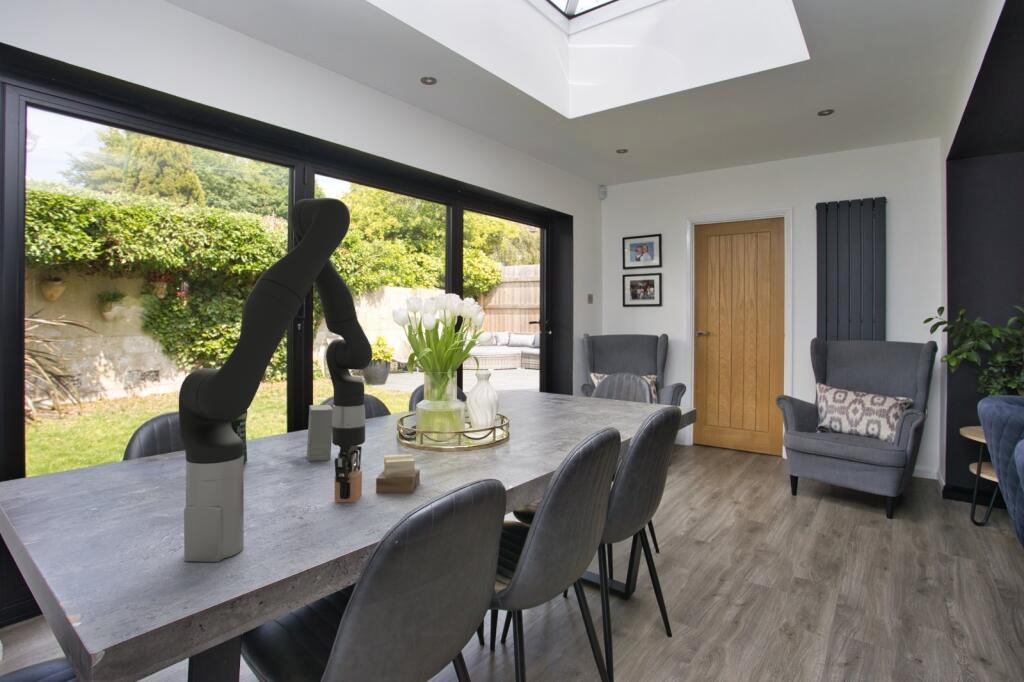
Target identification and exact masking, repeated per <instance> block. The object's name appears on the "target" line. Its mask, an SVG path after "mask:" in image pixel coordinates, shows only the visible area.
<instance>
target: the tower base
mask: <svg viewBox="0 0 1024 682" xmlns="http://www.w3.org/2000/svg"><path fill="white" fill-rule="evenodd" d="M420 470H421V469H416V468H415V474H414V477H399V478H386V477H385V472H384V470H383V471H382V472H381V473H380V474H379V475H378V476H377V477H376V478H375V494H405V495H407V494H409V495H411V494H414V492H415V491H416V489H417V488H418V486H419V485H420V476H421V474H420V472H421V471H420Z"/></svg>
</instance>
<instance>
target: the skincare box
mask: <svg viewBox="0 0 1024 682" xmlns="http://www.w3.org/2000/svg"><path fill="white" fill-rule="evenodd" d="M308 410H309V411H308V412H309V413H308V425H307V426H308V429H307V442H306V457H307V460H308V461H309V462H315V461H316V462H318V461H330V460H332V458H331V456H332V455H331V454H332V444H333V443H332V413H333V407H332V406H331V405H330V404H311V405H309V407H308Z"/></svg>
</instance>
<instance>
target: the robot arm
mask: <svg viewBox="0 0 1024 682" xmlns="http://www.w3.org/2000/svg"><path fill="white" fill-rule="evenodd" d="M290 211H291V212H290V224H291V227H292V232H293V233H294V236H295V239H296V241H297V245H296V246H294V248H293V249H291V250H290V251H289V252H288V253H286V254H285V255H284V256H282V257H281V258H279V259H278V260H277V261H276V262H274V263H273V264H271V265H270V267H268V268H267V269H266V270H265V271H263V273H262V274H261V275H260V277H259V278H258V279H257V280H256V283H255V284H254V286H253V287H252V289H251V291H249V293H248V294H247V295H248V296H247V297H246V299H245V301H244V304H243V305H242V306H243V307H242V311H241V322H240V332H239V333H240V335H239V337H238V340H237V342H236V344H235V346H234V348H233V350H232V351H231V353H230V354H229V356H228V358H226V361H225V362H224V363H223V364H222V366H221V367H220V368H210V367H207V368H206V367H205V368H198V369H195V370H193V371H192V372H191V373H189V374H188V375H187V376H186V377H185V378H184V380H183V381H182V384H181V385H180V390H179V394H178V419H179V434H180V436H179V437H180V441H181V445H182V447H183V449H184V452H185V507H184V509H183V533H184V534H183V540H184V541H183V543H184V544H183V546H184V547H183V548H184V549H183V550H184V551H183V552H184V553H183V555H184V557H183V561H184V562H207V563H208V562H212V563H215V562H217V563H218V562H221V561H222V560H224V559H227V558H229V557H232V556H235V555H237V554H238V553H240V552H242V551H243V549H244V545H245V542H244V541H245V539H244V538H245V537H244V536H245V535H244V533H245V531H244V530H245V528H244V527H245V525H244V524H245V523H244V522H245V521H244V520H245V518H244V517H245V516H244V515H245V513H244V511H245V510H244V509H245V508H244V507H245V505H244V504H245V502H244V500H245V499H244V494H245V492H244V491H245V490H244V486H245V485H244V484H245V481H244V480H245V479H244V475H245V474H244V473H245V469H244V468H245V466H244V465H245V464H244V445H243V441H242V439H241V438H240V437H239V436H237V434H236V433H235V432H234V431H233V429H232V427H231V424H230V421H234V420H236V419H238V418H239V417H241V416H242V415H243V414H244V413H245V412H246V411H247V412H248V409H249V408H250V406H251V405H252V403H253V401H254V399H255V397H256V394H257V392H258V389H259V387H260V385H261V383H262V380H263V377H264V376H265V374H266V371H267V368H268V366H269V365H270V362H271V359H272V358H273V356H274V354H275V353H276V351H277V349H278V347H279V345H280V344H281V341H282V339H283V338H284V336H285V334H286V332H287V331H288V329H289V327H290V325H291V324H292V323H293V320H294V319H295V317H296V315H297V313H298V312H299V310H300V308H302V307H301V306H302V305H303V304H304V301H305V299H306V297H307V296H308V293H309V292H310V290H311V288H312V286H313V285H314V284H315V287H316V291H317V293H318V297H319V301H320V304H321V308H322V313H323V317H324V320H325V322H324V323H325V325H326V329H327V330H328V331H329V332H330V333H332V334H335V335H337V336H340V337H341V338H342V339H341V338H338V339H334V340H332V341H331V342H330V343H329V344H328V346H327V348H326V352H325V360H326V361H325V362H326V366H327V368H328V373H329V376H330V380H331V383H332V387H333V400H332V401H333V404H332V405H333V407H332V409H333V413H332V443H331V444H333V445H334V446H337V447H339V452H338V453H337V457H335V458H334V468H335V469H334V471H335V472H334V473H335V476H336V482H339V483H340V498H341V499H348V498H349V497H350V481H351V473H352V472H353V471H361V464H362V463H361V461H362V445H363V444H364V443H365V442H366V409H365V384H364V382H363V381H362V380H360V379H358V378H355V377H353V376H352V375H351V373H350V370H354V371H355V370H356V371H357V370H360V371H361V370H364V369H366V368H368V367H369V366H370V365H371V363H372V359H373V349H372V346H371V345H372V344H371V343H370V340H369V339H368V336H367V335H366V332H365V331H364V330H363V327H362V325H361V324H360V322H359V320H358V316H357V310H356V307H355V306H356V305H355V302H354V297H353V293H352V292H351V289H350V287H349V286H348V284H347V283H346V281H345V280H344V278H343V277H342V275H341V274H340V273H339V271H338V270H337V268H336V266H335V265H334V264H333V262H332V260H331V256H332V255H333V254H334V253H335V252H336V250H337V249H338V247H339V246H340V244H341V243H342V242H343V240H344V239H345V237H346V236H347V233H348V231H349V229H350V224H351V214H350V210H349V207H348V206H347V205H346V204H345V202H343V201H342V200H340V199H337V198H332V197H321V198H303V199H300V200H298V201H296V202H295V203H294V204H293V205H292V208H291V210H290ZM343 474H344V477H342V476H343Z"/></svg>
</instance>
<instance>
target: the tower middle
mask: <svg viewBox="0 0 1024 682" xmlns="http://www.w3.org/2000/svg"><path fill="white" fill-rule="evenodd" d="M383 457H384V458H383V459H384V460H383V461H384V462H383V463H384V464H383V465H384V466H383V471H384V472H385V477H386V478H399V477H414V474H415V469H416V468H415V466H416V465H415V463H416V461H415V458H414V456H413V454H411V453H407V454H389V455H388V454H387V455H386V454H385V455H384V456H383Z"/></svg>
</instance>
